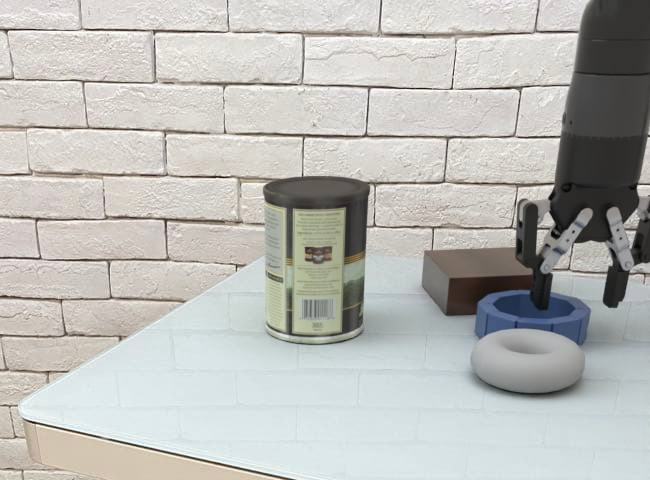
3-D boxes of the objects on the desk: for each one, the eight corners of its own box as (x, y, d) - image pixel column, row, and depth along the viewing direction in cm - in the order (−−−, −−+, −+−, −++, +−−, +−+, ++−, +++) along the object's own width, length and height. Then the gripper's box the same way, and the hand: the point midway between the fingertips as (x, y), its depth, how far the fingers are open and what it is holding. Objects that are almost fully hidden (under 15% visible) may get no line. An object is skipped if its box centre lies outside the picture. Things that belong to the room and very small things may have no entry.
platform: (514, 281, 112) (518, 246, 110) (546, 310, 103) (552, 273, 101) (421, 285, 111) (424, 250, 109) (445, 315, 102) (449, 278, 100)
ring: (560, 315, 101) (565, 287, 100) (601, 351, 92) (606, 321, 91) (463, 319, 101) (466, 291, 99) (495, 356, 92) (498, 326, 90)
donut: (602, 378, 87) (506, 349, 93) (610, 341, 85) (512, 314, 91) (544, 410, 81) (446, 377, 87) (550, 372, 79) (450, 341, 85)
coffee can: (331, 306, 105) (336, 171, 98) (382, 334, 97) (391, 189, 90) (247, 320, 102) (244, 181, 94) (292, 351, 94) (294, 201, 86)
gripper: (541, 135, 83) (516, 322, 92) (702, 130, 84) (662, 316, 93) (514, 122, 89) (493, 298, 98) (663, 118, 90) (629, 293, 99)
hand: (575, 306), depth 95 cm, fingers open, 6 cm apart
